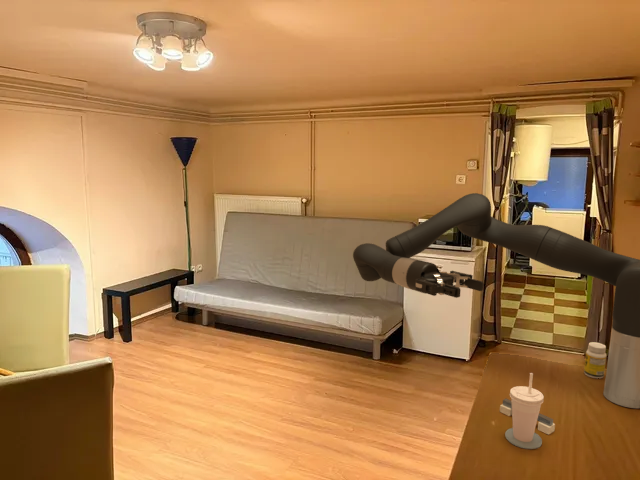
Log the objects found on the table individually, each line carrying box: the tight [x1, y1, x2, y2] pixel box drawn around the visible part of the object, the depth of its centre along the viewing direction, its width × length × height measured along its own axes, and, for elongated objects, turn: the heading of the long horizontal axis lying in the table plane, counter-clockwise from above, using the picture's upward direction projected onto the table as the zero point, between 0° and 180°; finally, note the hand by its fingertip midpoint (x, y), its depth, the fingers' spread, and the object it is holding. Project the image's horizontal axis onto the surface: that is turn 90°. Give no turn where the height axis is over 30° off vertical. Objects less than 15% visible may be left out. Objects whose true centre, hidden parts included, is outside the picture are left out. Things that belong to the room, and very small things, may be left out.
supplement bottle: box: [583, 341, 607, 379], centre depth 130 cm, size 5×5×8 cm
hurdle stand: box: [499, 403, 556, 435], centre depth 108 cm, size 11×2×2 cm, turn 38°
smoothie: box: [509, 372, 544, 442], centre depth 100 cm, size 6×6×14 cm
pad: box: [504, 427, 543, 450], centre depth 101 cm, size 7×7×1 cm
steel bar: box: [502, 398, 554, 426], centre depth 108 cm, size 11×1×1 cm, turn 38°
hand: (471, 289), depth 109 cm, fingers open, 8 cm apart
